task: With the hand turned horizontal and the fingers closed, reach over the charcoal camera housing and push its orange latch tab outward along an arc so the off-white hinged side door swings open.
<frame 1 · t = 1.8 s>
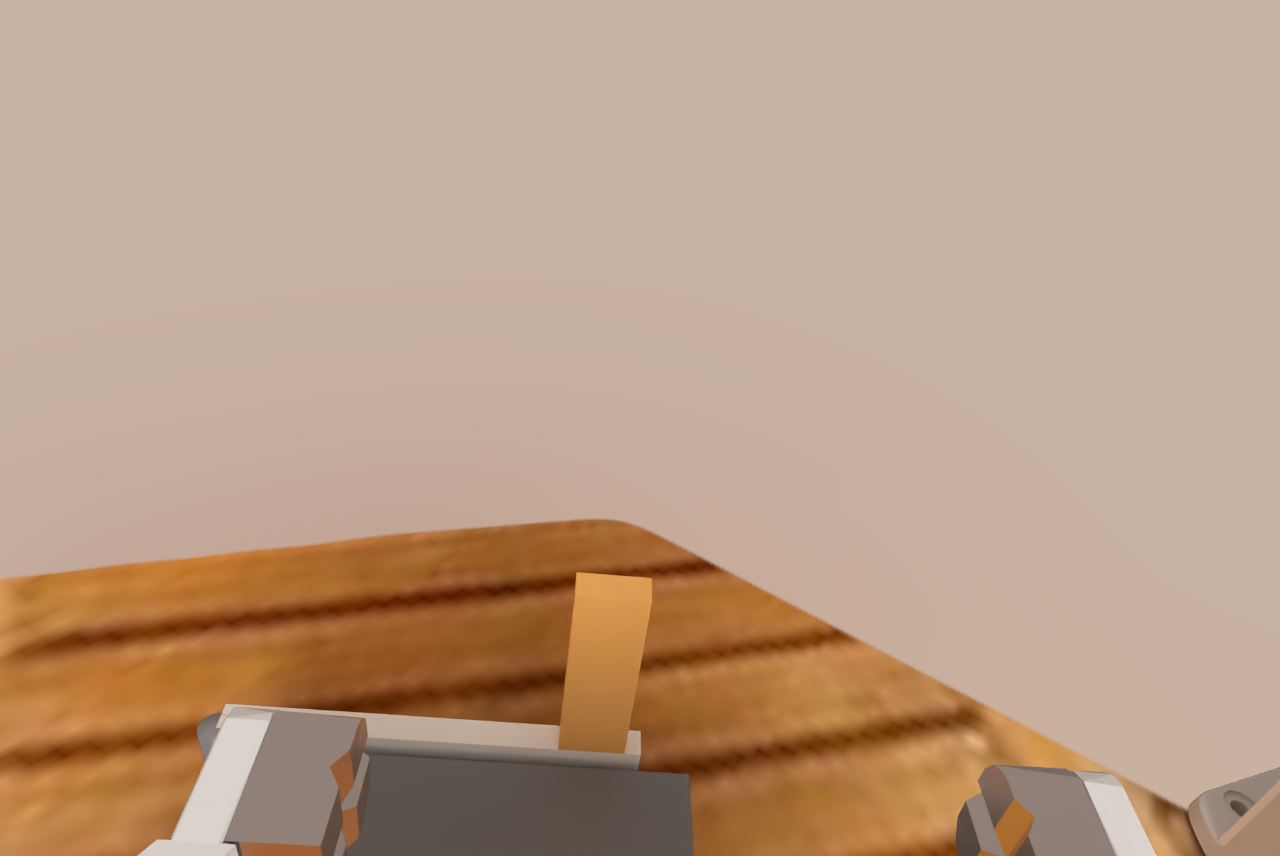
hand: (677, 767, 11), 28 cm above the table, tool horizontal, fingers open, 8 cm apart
side door: (424, 746, 33), point 9 cm above the table, hinge at 0.0°
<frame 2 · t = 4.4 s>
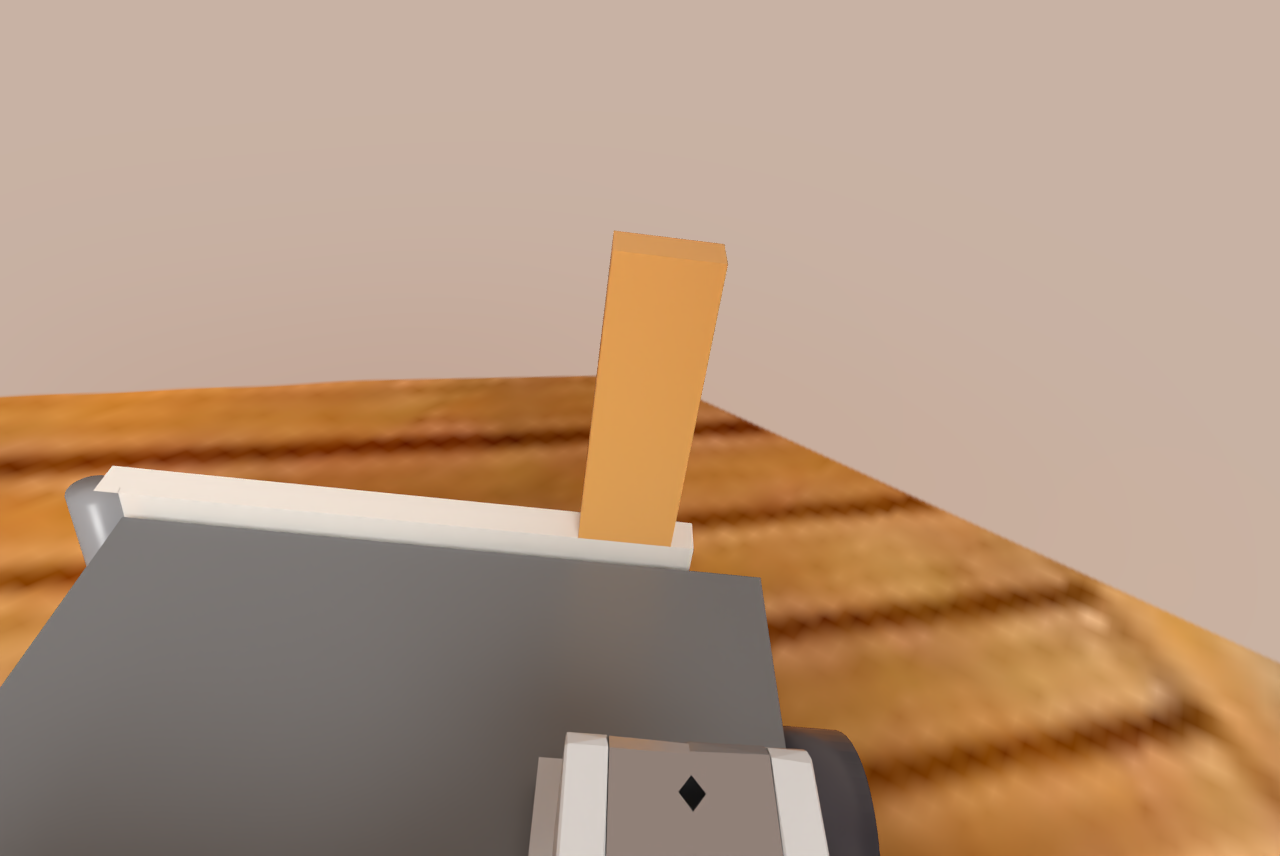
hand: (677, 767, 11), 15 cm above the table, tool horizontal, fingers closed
side door: (391, 531, 23), point 9 cm above the table, hinge at 0.0°
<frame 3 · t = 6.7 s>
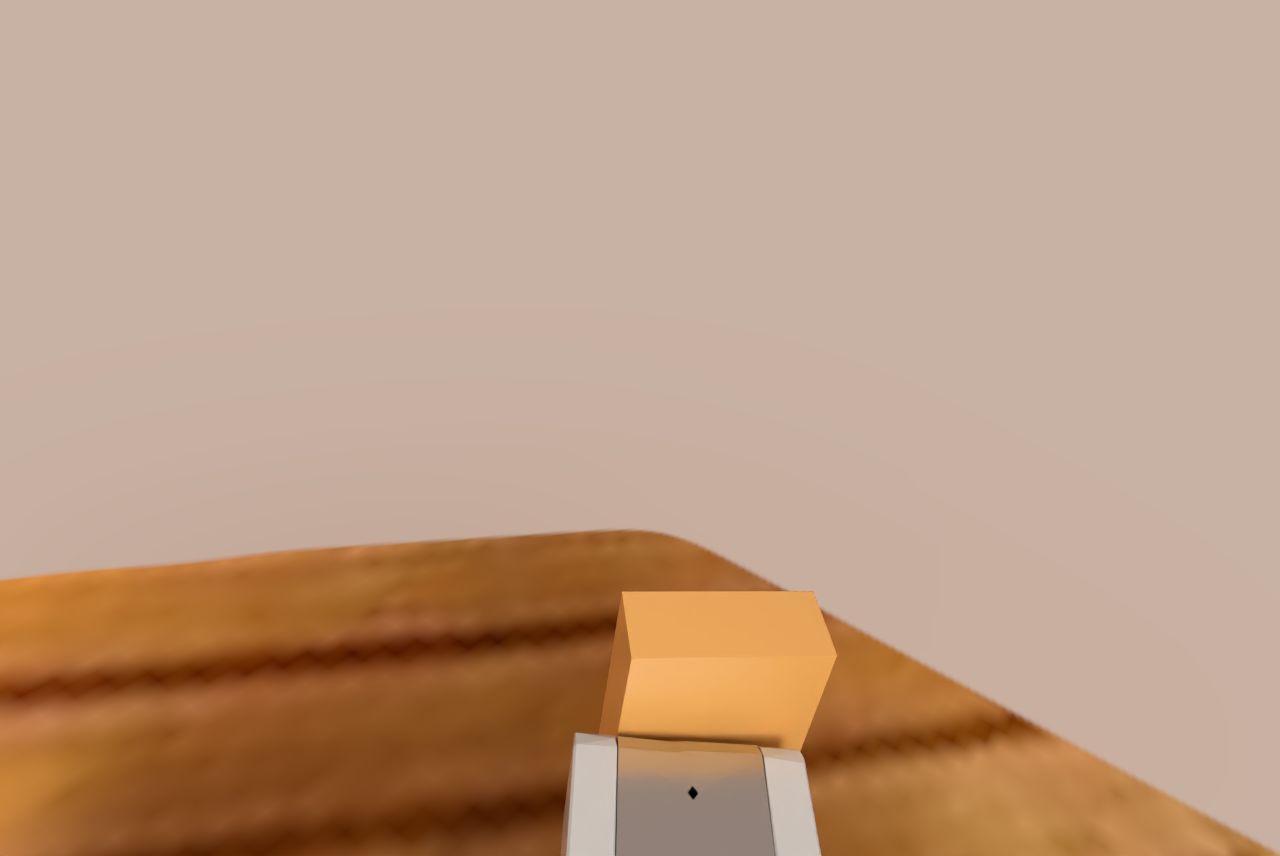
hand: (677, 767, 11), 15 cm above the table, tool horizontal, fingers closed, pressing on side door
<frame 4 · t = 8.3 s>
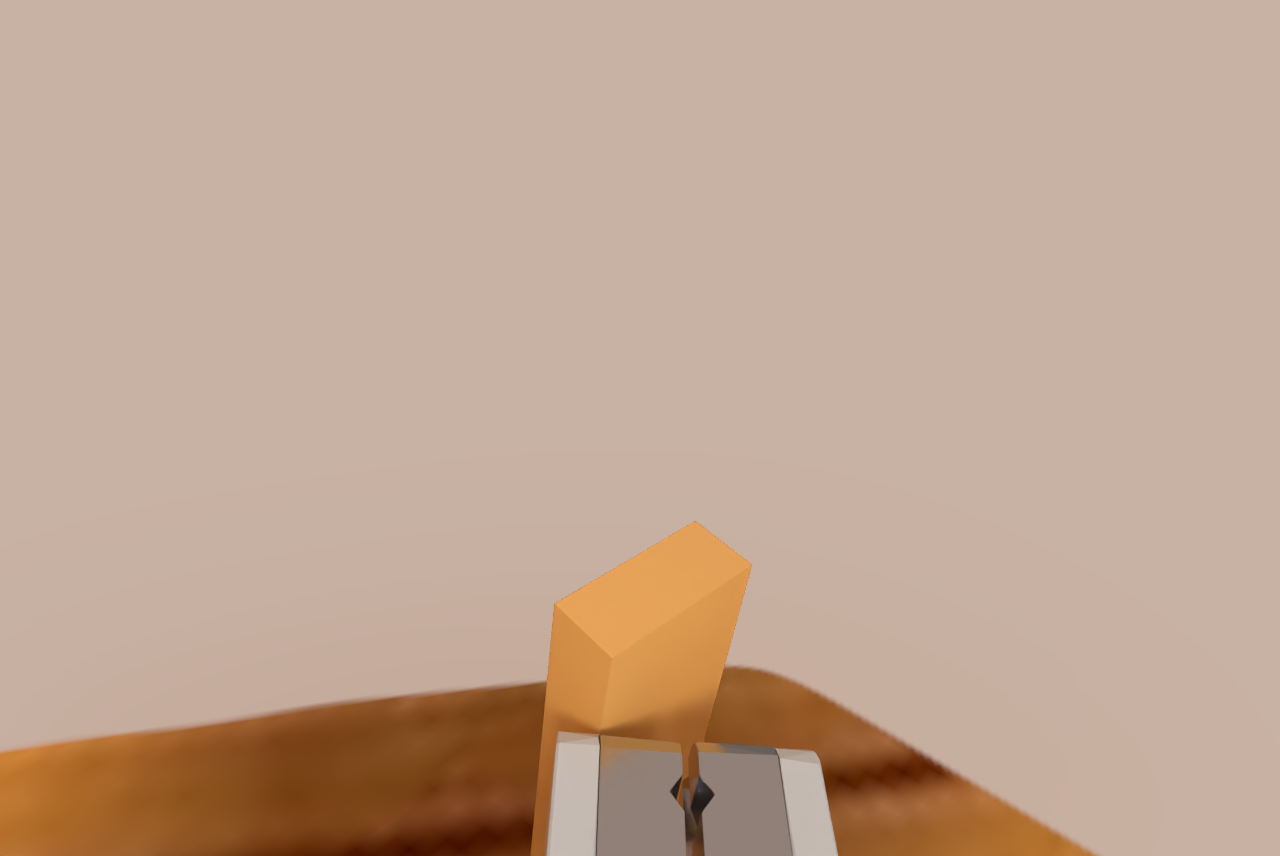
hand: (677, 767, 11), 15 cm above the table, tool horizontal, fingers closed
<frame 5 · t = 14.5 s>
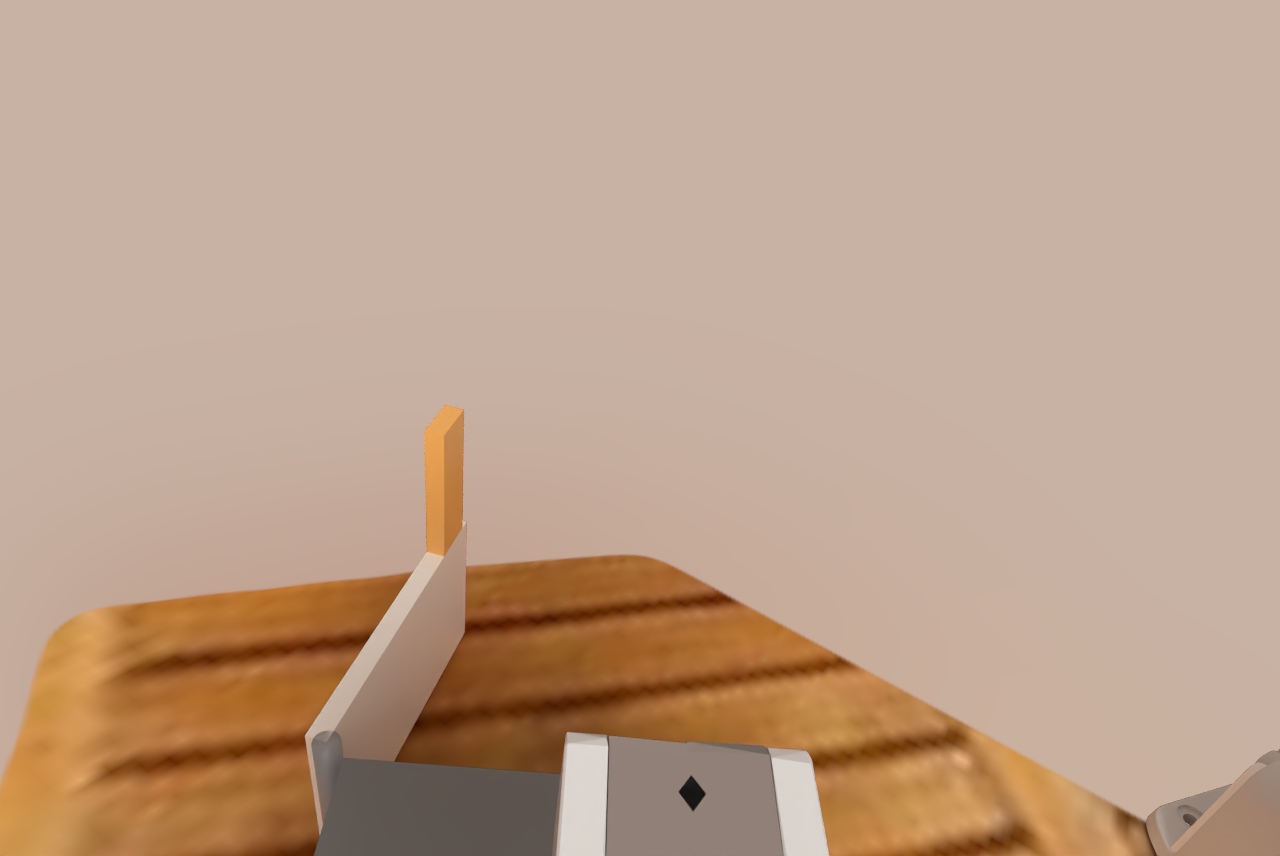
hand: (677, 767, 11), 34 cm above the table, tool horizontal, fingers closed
side door: (399, 628, 44), point 9 cm above the table, hinge at 76.0°
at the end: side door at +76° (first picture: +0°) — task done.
